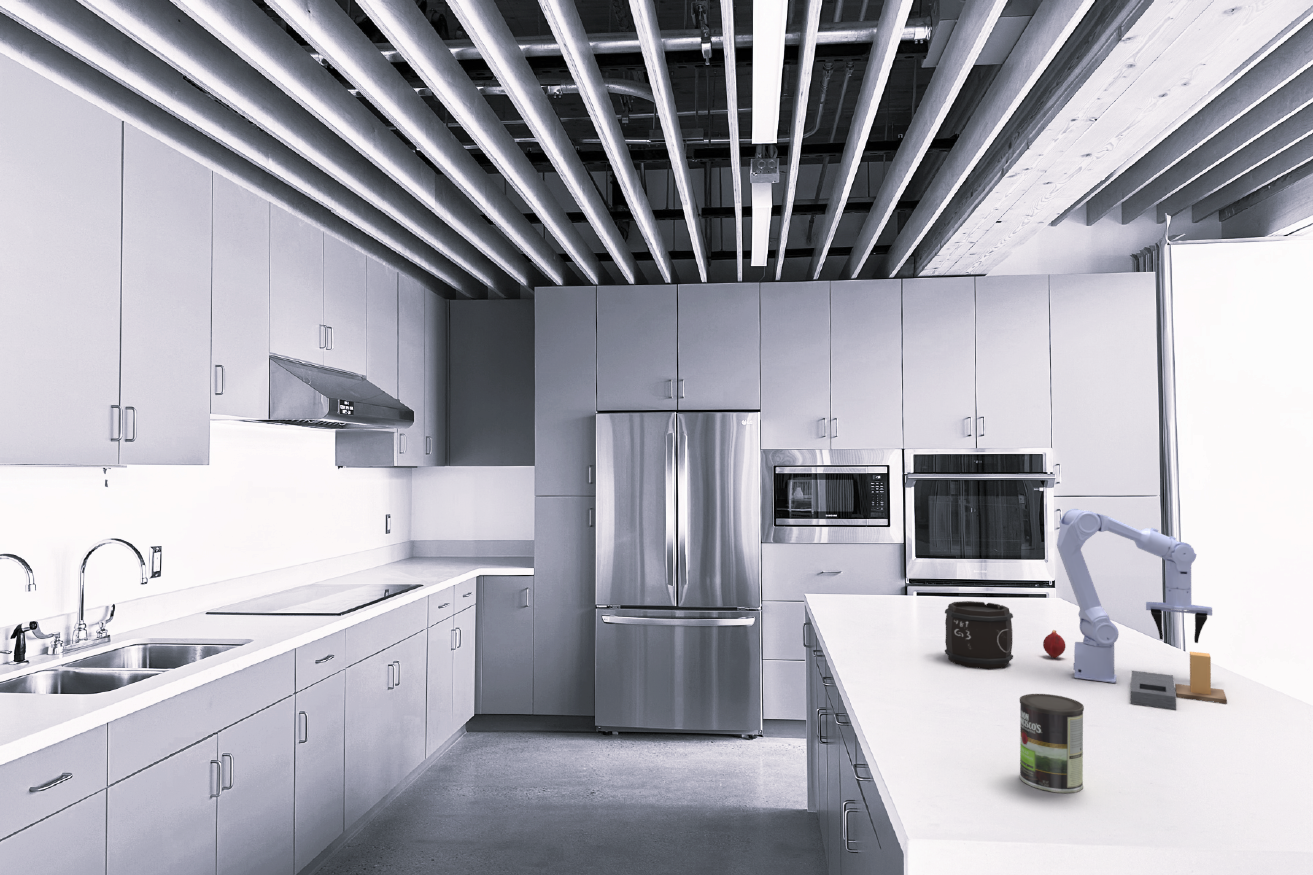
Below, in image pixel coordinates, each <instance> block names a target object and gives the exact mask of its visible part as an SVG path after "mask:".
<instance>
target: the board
mask: <svg viewBox="0 0 1313 875" xmlns="http://www.w3.org/2000/svg"><path fill="white" fill-rule="evenodd" d="M1174 687H1175V694H1176V699H1177V698H1179V699H1186V700H1193V699H1196V700H1195V701H1200V700H1202V702H1208V701H1214V702H1213V703H1216V702H1219V703H1218V704H1225V705H1227V704H1228V699H1227V696H1226V693H1225V690H1224V689H1222V688H1214V687H1211V695H1209V694H1201V693H1193V692H1191V690H1190V684H1189V685H1188V684H1181V683H1174Z"/></svg>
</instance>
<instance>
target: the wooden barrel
mask: <svg viewBox="0 0 1313 875" xmlns="http://www.w3.org/2000/svg"><path fill="white" fill-rule="evenodd" d="M944 614H945V648H946V649H945V650H944V652H945V655H946V656H947V659H948V661H950V662H952V664H954V665H957V666H961V667H966V668H972V669H982V670H994V669H995V670H997V669H1005V668H1006V667H1007V666H1009V664H1010V661H1012V660H1013V658H1014V655H1013V654H1012V650H1013V623H1012V619H1013V618H1014V614H1013V613H1012V612H1010V608H1009V607H1008V606H1005V605H1003V604H999V603H995V602H994V603H993V602H987V603H985V602H984V601H973V600H969V601H968V600H966V601H965V600H964V601H954V602H953V601H952V602H951V603H949V604H948V606H947V608H946V609H945V610H944Z"/></svg>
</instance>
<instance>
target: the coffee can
mask: <svg viewBox="0 0 1313 875" xmlns="http://www.w3.org/2000/svg"><path fill="white" fill-rule="evenodd" d="M1019 704H1020V707H1019V708H1020V709H1019V710H1020V720H1019V721H1020V725H1019V726H1020V730H1019V731H1020V737H1019V739H1020V740H1019V741H1020V742H1019V743H1020V747H1019V748H1020V750H1019V751H1020V752H1019V753H1020V758H1019V759H1020V760H1019V766H1020V767H1019V779H1020V780H1021V781H1022V782H1023V783H1024V784H1025V785H1028V786H1030V787H1032V788H1035V789H1038V790H1042V791H1045V792H1051V793H1057V794H1072V793H1073V794H1074V793H1078V792H1080V791H1082V790H1083V789H1084V781H1083V780H1084V779H1083V777H1084V774H1083V772H1084V770H1083V767H1084V762H1083V761H1084V760H1083V759H1084V756H1083V755H1084V751H1083V750H1084V749H1083V747H1084V744H1083V743H1084V741H1083V740H1084V710H1085V705H1084V704H1082V703H1081V702H1080V701H1078V700H1076V699H1073V698H1071V697H1067V696H1066V697H1065V696H1062V695H1055V694H1049V693H1048V694H1047V693H1029V694H1024V695H1021V696H1020V697H1019Z"/></svg>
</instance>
